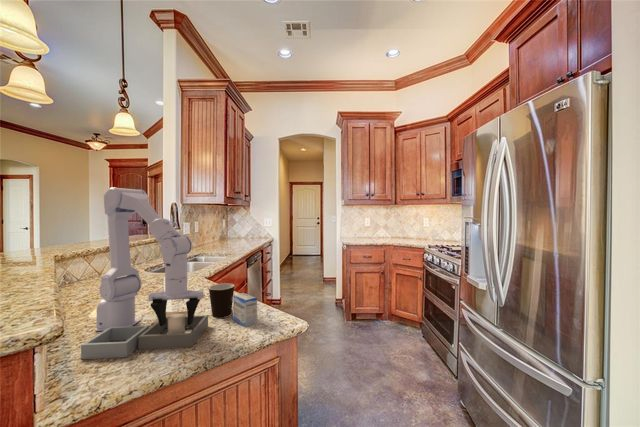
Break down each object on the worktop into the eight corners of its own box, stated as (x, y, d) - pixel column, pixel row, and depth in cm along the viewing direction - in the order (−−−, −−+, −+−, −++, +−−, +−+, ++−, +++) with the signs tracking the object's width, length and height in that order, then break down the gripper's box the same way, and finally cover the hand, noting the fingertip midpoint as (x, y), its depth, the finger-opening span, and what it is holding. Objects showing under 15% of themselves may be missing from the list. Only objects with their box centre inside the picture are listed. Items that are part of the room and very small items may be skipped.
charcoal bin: (138, 349, 71) (138, 336, 71) (163, 328, 85) (163, 316, 85) (191, 347, 73) (191, 334, 73) (207, 326, 86) (207, 315, 86)
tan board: (151, 324, 88) (151, 323, 88) (165, 313, 98) (165, 312, 98) (183, 323, 89) (183, 322, 89) (194, 312, 99) (194, 311, 99)
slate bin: (81, 359, 67) (80, 345, 67) (110, 339, 77) (110, 327, 77) (126, 356, 68) (126, 343, 68) (149, 337, 78) (149, 325, 78)
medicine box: (232, 321, 91) (232, 295, 91) (244, 317, 94) (244, 292, 94) (245, 327, 85) (245, 300, 85) (257, 323, 88) (257, 297, 88)
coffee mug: (226, 320, 91) (226, 290, 91) (203, 318, 93) (203, 289, 93) (242, 308, 103) (242, 282, 103) (222, 306, 104) (222, 280, 104)
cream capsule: (164, 340, 76) (164, 319, 76) (171, 334, 81) (171, 313, 81) (181, 340, 77) (181, 319, 77) (187, 333, 81) (187, 313, 81)
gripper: (142, 281, 74) (142, 331, 74) (197, 280, 76) (197, 328, 75) (155, 275, 81) (155, 321, 81) (205, 274, 83) (205, 319, 83)
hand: (176, 324), depth 79 cm, fingers open, 7 cm apart
